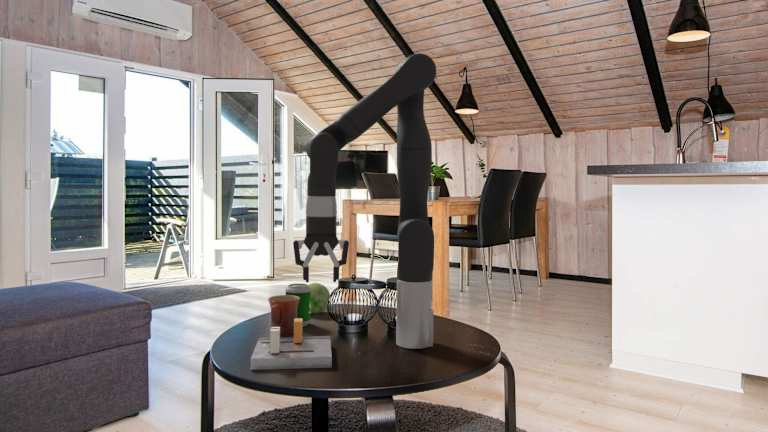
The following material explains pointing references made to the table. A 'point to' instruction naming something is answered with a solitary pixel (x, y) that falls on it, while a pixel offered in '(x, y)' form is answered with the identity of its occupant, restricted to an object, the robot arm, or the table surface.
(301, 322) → the fader orange
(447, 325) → the table surface
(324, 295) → the decorative ball
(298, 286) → the soda can
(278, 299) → the mug
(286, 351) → the console
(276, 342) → the fader cream
